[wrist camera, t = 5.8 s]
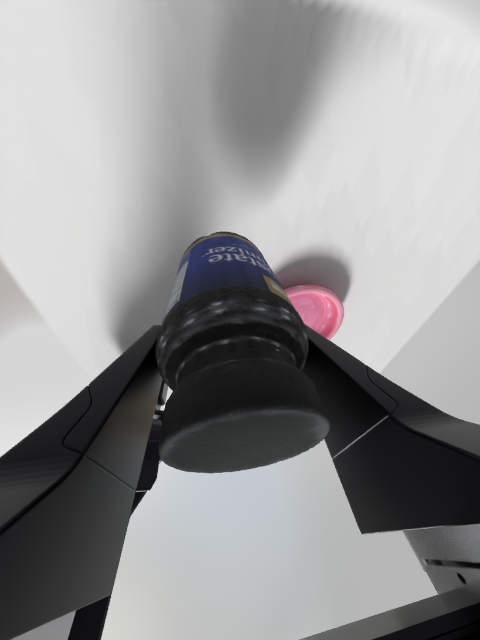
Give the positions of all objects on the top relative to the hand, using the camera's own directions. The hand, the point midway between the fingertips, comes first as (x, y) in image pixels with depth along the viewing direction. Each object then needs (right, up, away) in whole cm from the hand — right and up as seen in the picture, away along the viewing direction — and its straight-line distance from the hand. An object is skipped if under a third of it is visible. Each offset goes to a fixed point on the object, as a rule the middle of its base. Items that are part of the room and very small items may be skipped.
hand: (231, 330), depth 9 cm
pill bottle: (-1, +4, +5) cm, 6 cm away
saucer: (+7, +1, +18) cm, 19 cm away
